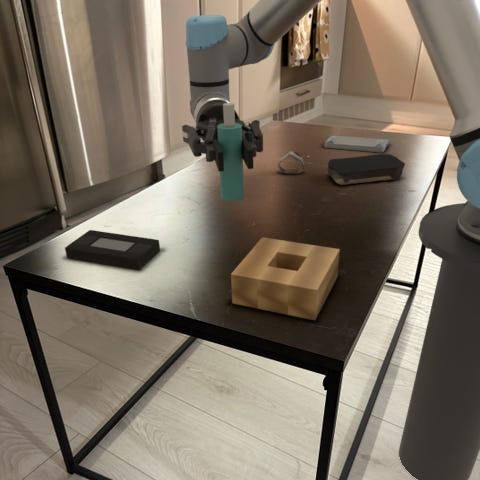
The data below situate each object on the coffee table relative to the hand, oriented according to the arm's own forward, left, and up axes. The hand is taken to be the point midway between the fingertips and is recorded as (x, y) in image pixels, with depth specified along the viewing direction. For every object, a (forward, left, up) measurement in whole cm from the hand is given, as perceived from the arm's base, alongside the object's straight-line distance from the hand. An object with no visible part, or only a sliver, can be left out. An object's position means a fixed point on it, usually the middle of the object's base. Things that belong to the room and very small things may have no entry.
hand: (235, 160), depth 72 cm
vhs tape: (+23, +2, -18) cm, 29 cm away
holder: (-9, +3, -18) cm, 20 cm away
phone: (-3, -74, -18) cm, 76 cm away
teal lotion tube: (+3, -5, -8) cm, 9 cm away
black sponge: (-10, -50, -18) cm, 54 cm away
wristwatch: (+7, -48, -18) cm, 52 cm away
